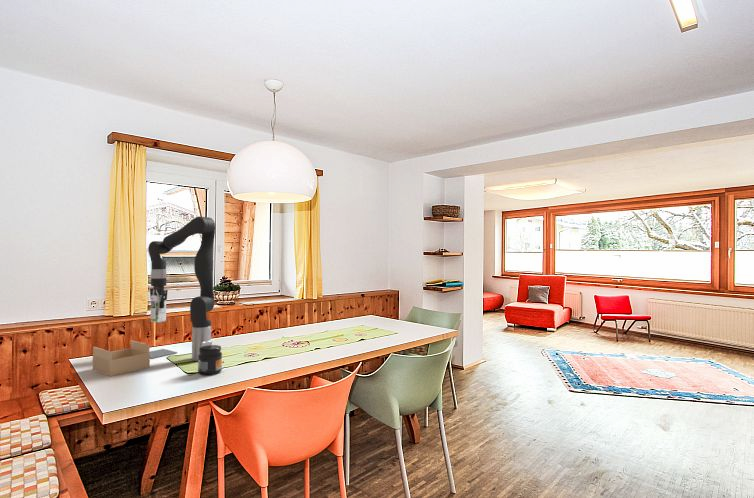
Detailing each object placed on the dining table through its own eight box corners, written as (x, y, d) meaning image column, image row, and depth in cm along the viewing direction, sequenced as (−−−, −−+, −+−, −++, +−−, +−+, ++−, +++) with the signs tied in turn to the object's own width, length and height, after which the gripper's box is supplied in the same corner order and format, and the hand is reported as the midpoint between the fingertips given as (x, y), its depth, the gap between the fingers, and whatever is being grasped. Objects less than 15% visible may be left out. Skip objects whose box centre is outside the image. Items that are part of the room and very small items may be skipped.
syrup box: (149, 321, 219) (150, 295, 219) (160, 320, 224) (160, 294, 224) (156, 322, 216) (156, 296, 216) (166, 321, 222) (166, 295, 222)
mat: (177, 353, 222) (177, 352, 222) (151, 358, 211) (151, 357, 211) (163, 349, 230) (163, 348, 230) (138, 355, 218) (138, 353, 218)
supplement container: (226, 370, 192) (226, 345, 192) (213, 376, 182) (213, 350, 182) (206, 368, 194) (207, 344, 194) (192, 375, 184) (193, 349, 184)
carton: (149, 367, 196) (149, 344, 196) (110, 376, 181) (110, 352, 181) (131, 361, 206) (131, 340, 206) (92, 369, 191) (92, 346, 191)
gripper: (172, 277, 220) (172, 308, 220) (158, 276, 227) (158, 306, 227) (159, 278, 213) (158, 309, 213) (144, 277, 221) (144, 307, 221)
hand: (158, 307), depth 220 cm, fingers closed on syrup box, 6 cm apart
